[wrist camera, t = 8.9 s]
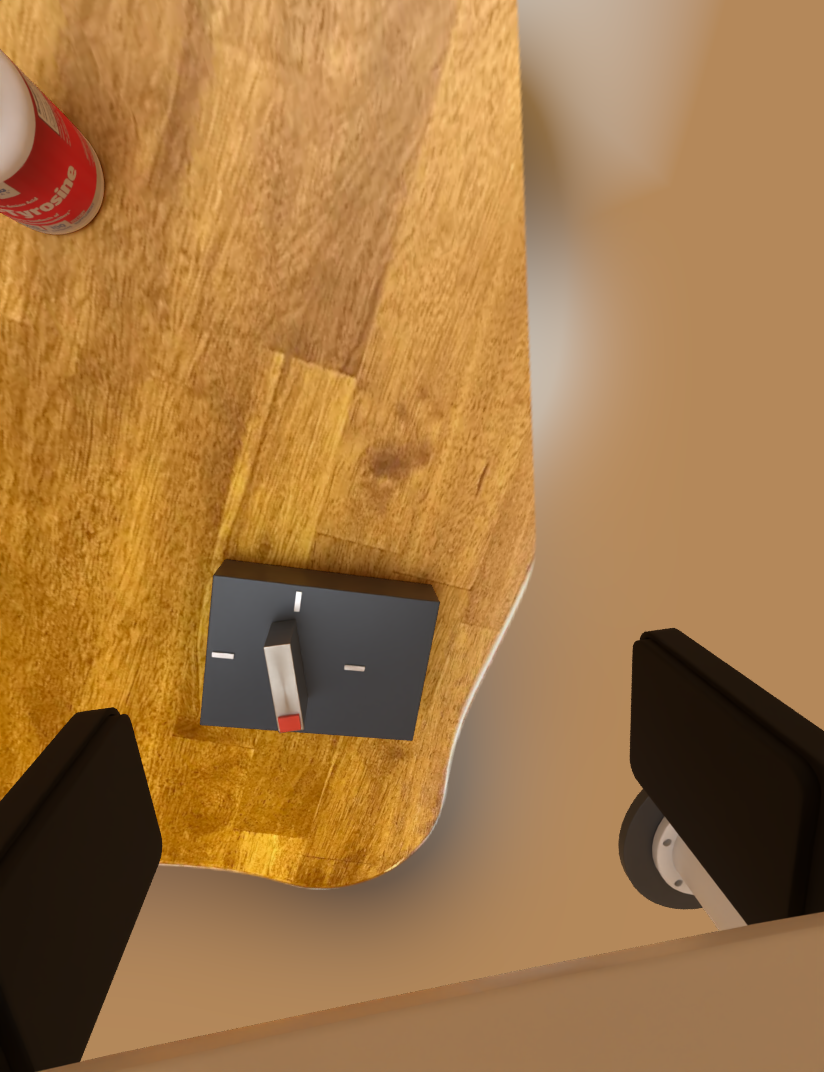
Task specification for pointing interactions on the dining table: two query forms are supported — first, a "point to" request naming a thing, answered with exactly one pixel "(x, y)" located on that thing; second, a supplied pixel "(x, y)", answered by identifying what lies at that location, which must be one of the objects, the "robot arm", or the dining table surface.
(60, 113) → the pill bottle
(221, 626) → the rotary switch block
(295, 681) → the gray slab
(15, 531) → the dining table surface
